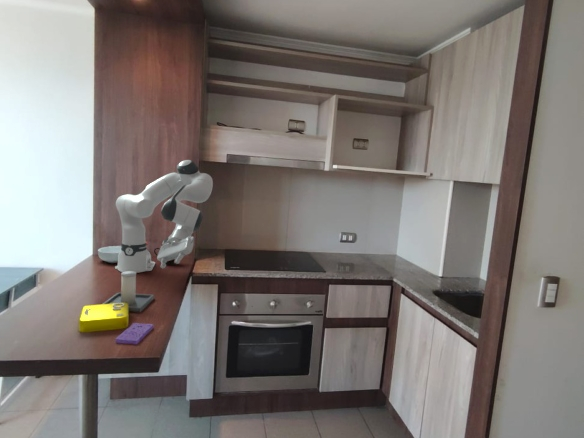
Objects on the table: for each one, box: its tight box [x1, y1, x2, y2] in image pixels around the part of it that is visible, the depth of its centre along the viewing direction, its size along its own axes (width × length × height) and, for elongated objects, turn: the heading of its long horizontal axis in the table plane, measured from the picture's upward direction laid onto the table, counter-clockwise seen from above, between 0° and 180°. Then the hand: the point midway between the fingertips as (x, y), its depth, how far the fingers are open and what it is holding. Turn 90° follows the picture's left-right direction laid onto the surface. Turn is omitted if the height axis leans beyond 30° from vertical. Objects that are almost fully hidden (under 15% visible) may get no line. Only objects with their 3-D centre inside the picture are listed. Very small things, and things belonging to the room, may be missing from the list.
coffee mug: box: [153, 245, 176, 266], centre depth 210 cm, size 12×9×10 cm
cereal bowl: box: [97, 245, 122, 264], centre depth 207 cm, size 17×17×7 cm
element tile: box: [78, 303, 130, 333], centre depth 130 cm, size 15×15×5 cm
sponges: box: [115, 322, 154, 345], centre depth 122 cm, size 7×13×2 cm, turn 178°
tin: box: [120, 271, 137, 305], centre depth 146 cm, size 5×5×12 cm
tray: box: [102, 292, 155, 313], centre depth 147 cm, size 15×15×2 cm
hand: (169, 265), depth 164 cm, fingers open, 8 cm apart
